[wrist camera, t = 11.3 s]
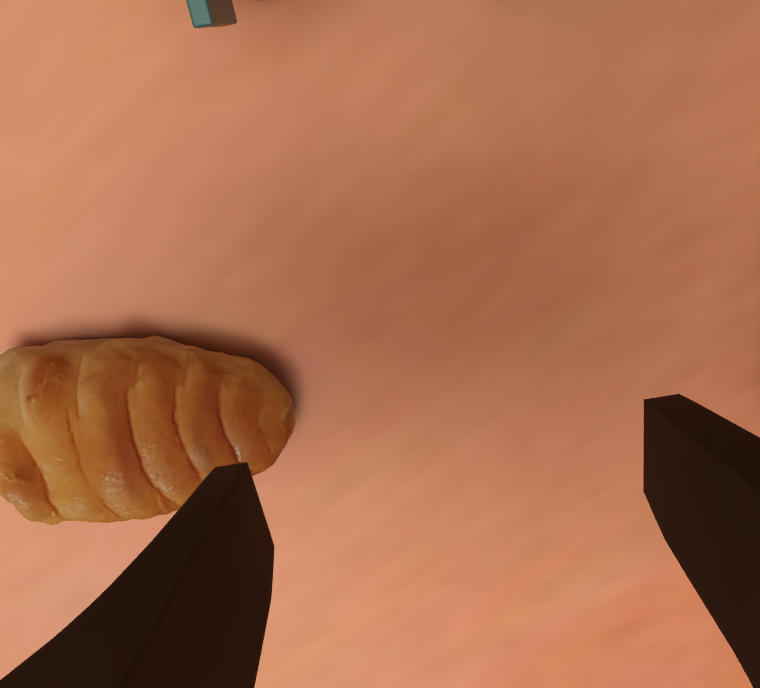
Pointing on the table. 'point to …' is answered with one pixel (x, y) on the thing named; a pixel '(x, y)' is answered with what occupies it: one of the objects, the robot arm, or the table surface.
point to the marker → (211, 13)
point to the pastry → (130, 425)
